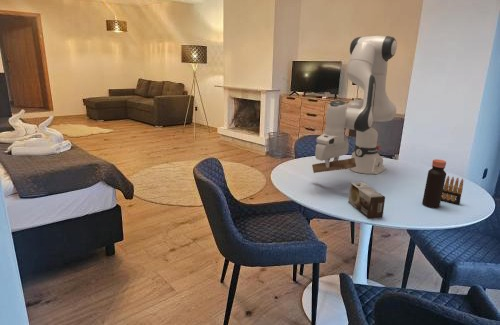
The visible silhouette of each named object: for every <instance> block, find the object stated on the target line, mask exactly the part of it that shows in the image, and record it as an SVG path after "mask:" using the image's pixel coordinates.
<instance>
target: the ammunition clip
mask: <svg viewBox="0 0 500 325" xmlns="http://www.w3.org/2000/svg"><path fill="white" fill-rule="evenodd" d="M454 177H455V176H452V177H451V178H450V175H448V176H446V179H445V183H444V188H443V193H442V198H441V202H443V203H447V204H450V205H451V204H452V205H456V206H460V204H461V198H462V193H463V188H464V179H463V178H461V180H460V182H459V177H457V178H456V179H455V178H454Z"/></svg>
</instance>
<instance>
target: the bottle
mask: <svg viewBox="0 0 500 325" xmlns="http://www.w3.org/2000/svg"><path fill="white" fill-rule="evenodd" d="M446 165H447V161H445V160H442V159H433V160H432V164H431V168H430V169H429V170H428V171H427V172H428V173H427V175H426V176H427V177H426V182H425V185H424V186H425V187H424V191H423V197H422V202H421V204H422V205H423V206H424V207H426V208H430V209H439V208H440V206H441V202H442V201H441V198H442V193H443V188H444V185H445V183H446V179H447V172H446V171H445V170H444V169H446Z"/></svg>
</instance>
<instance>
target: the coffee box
mask: <svg viewBox="0 0 500 325" xmlns="http://www.w3.org/2000/svg"><path fill="white" fill-rule="evenodd" d="M349 187H350V188H349V193H348V194H349V197H348V203H349V204H350V205H352V207H353V208H355V209H356V210H358V211H359V212H360V213H361V214H363V215H364V216H365V217H366V218H367V219H378V218H380V219H381V218H383V215H384V210H385V209H384V208H385V201H386V196H384V195H383V194H382V193H380V192H378V191H377V190H376V189H374V188H372V187H371V186H370V185H368V184H366V183H365V182H362V181H361V182H351V183H350V186H349Z"/></svg>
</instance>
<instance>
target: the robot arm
mask: <svg viewBox="0 0 500 325" xmlns="http://www.w3.org/2000/svg"><path fill="white" fill-rule="evenodd" d="M397 44H398V43H397V40H396V38H395V37H394V36H389V35H387V36H386V35H385V36H384V35H371V36H359V37H355V38H353V40H352V41H351V43H350V44H349V45H350V46H349V53H350V56H349V60H348V62H347V65H346V71H345V72H346V77H347V78H348V80H349V81H350V82H351V83H353V84H354V85H356V86H358V87H359V88H362V89H363V92H364V93H363V99H353V100H349V102H348V103H346V102H345V101H343V100H332V101H331V102H329V103H328V105H327V109H326V115H325V127H324V132H323V133H322V134H321V135H319V136H317V137H316V141H315V142H316V145H315V152H314V157H315V159H316V160H318V161H321V162H323V161H324V163H326V167H327V168H329V167H331V164H330V162H331V159H333V161H338V160H340V157H341V156H345V155H348V153H349V148H350V147H349V146H350V145H349V140H348V139H349V138H348V136H347V135H345V132H346V130H345V129H348V130H354V131H356V132H355V135H356V136H355V144H354V146H353V152H352V153H351V157H350V158H355V163H356V167H353V168H350V169H349V170H350V171H352V172H355V173H358V174H367V175H369V174H370V175H379V174H380V173H382V172H384V171H385V170H387V166H386V165H383V164H384V160H383V159H384V158H383V157H382V156H381V155H380V154H379V153H378V150H381V145H380V146H379V145H378V144H377V143H378V136H379V133H378V131H377V130H376V129H375V128H374V127H372V126H373V122H382V123H383V122H390V121H392V120H393V119H394V118H395V117H396V114H397V107H396V105H395V104H394V102H393V101H392V100H390V98H389V96H388V95H387V91H386V90H387V89H386V83H387V82H386V81H387V73H388V61H389V60H391V59H393V57H394V56H395V54H396V53H397V52H396V51H397V47H398V45H397Z"/></svg>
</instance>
